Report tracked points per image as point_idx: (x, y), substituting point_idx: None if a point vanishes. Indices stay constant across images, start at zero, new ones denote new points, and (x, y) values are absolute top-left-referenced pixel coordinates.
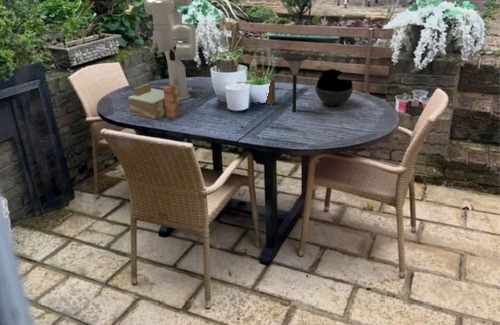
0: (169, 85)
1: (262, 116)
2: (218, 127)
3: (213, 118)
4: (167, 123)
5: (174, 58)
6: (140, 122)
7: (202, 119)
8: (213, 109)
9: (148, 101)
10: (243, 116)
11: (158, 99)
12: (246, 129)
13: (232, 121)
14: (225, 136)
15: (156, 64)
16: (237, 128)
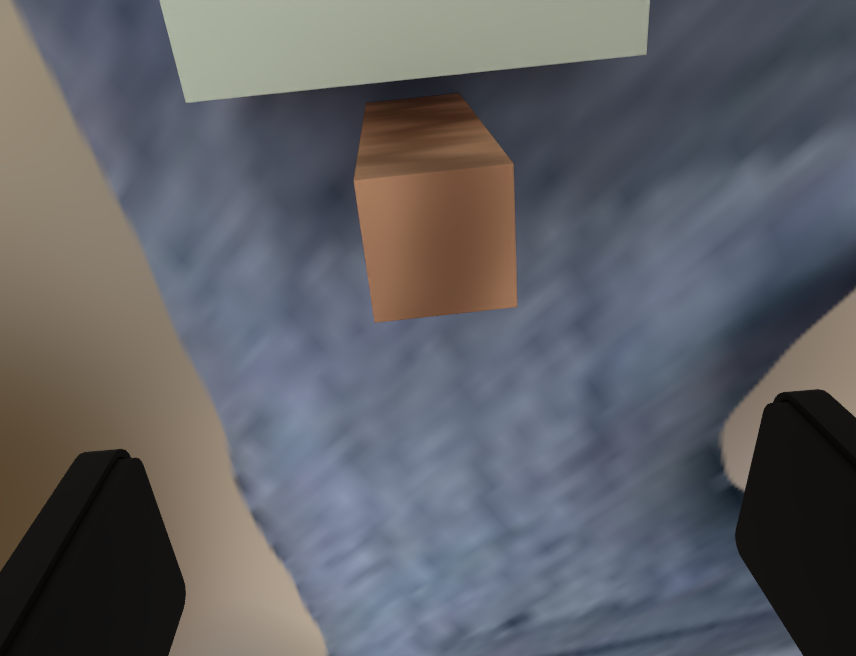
0: (472, 198)
1: (718, 603)
2: (437, 545)
3: (549, 431)
4: (260, 244)
5: (788, 607)
6: (84, 2)
7: (492, 390)
8: (720, 308)
9: (165, 11)
10: (673, 537)
11: (310, 64)
12: (501, 648)
13: (565, 542)
14: (358, 637)
15: (93, 462)
16: (486, 615)
